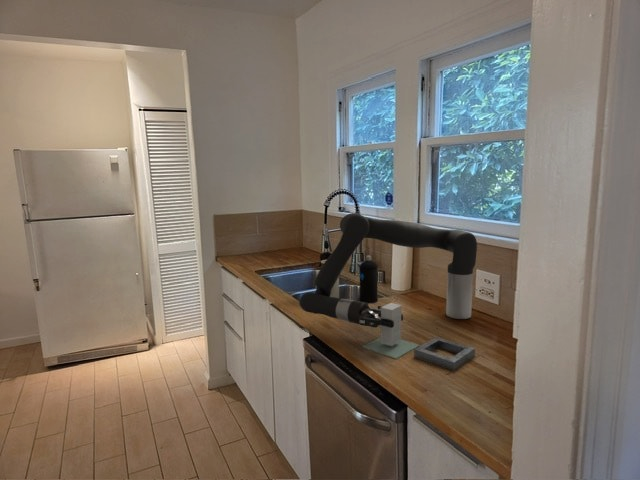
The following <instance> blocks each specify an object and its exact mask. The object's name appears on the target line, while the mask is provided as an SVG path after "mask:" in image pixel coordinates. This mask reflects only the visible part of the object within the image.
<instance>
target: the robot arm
mask: <svg viewBox="0 0 640 480" xmlns="http://www.w3.org/2000/svg"><path fill="white" fill-rule="evenodd" d="M339 229H340V230H341V232H342V235H341V238H340V240H339V242H338V244H336V245H337V246H336V247H335V249H334V250H333V251H332V253H330V255H329V256H328V258H327V259H325V260H326V261H325V263H324V264H323V266H322V265H321V267H322V268H321V267H320V269H321V270H320V269H319V271H318V273H317V275H316V277H315V279H314V281H313V283H314V285H315V287H316V288H315V291H314V292H312V291H309V292H308V291H307V292H305V293H303V294H302V295H301V296H300V298H299V300H298V301H299V306H300V308H301V309H302V310H303V311H304V312H306V313H311V314H316V315H324V316H327V317H329V318H333V319H337V320H341V321H343V322H346V323H351V324H355V325H360V326H363V327H369V328H378V327H381V326H386V327H390V328H393V327H394V321H393V320H389V319H384V318H383V319H382V318H381V307H383V306H381V305H378V306H377V308H376V307H372V308H371V307H370V306H369V303H365V302H360V301H359V300H354V299H349V298H340V297H339V298H336V297H330V294H331V290H332V288H333V286H334V284H335V282H336V281H337V279H338V277H339V278H340V274H341V273H342V271H343V270H344V268H345V266H346V265H347V263H348V261H349V259H350V258H351V257H352V256H353V254H354V252H355V251H356V250H357V248H358V247H359V246H360V244H361V243H362V241H363V240H364V239H374V240H378V241H382V242H384V243H387V244H391V245H396V246H400V247H407V248H415V249H420V248H424V249H425V248H435V249H440V250H444V251H447V252H450V253H452V260H451V261H452V262H451V263H449V264H447V278H446V304H445V305H446V306H445V307H446V308H445V309H446V310H445V314H446V316H447V317H449V318H451V319H457V320H467V319H470V318H472V303H473V281H474V278H473V277H474V268H475V266H476V262H477V252H478V243H477V238H476V236H475V235H474V234H473V233H471V232H469V231H466V230H461V229H446V228H442V229H441V228H435V227H431V226H429V225H425V224H420V223H418V222H417V223H416V222H412V221H411V222H410V221H406V220H404V221H403V220H391V219H376V218H371V217H368V216H364V215H362V214H359V213H355V212H354V213H353V212H352V213H348V214H347V215H344V217H342V218H341V220H340V222H339ZM403 320H404V314H402V313H401V322H402V321H403Z"/></svg>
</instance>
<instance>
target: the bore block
mask: <svg viewBox="0 0 640 480" xmlns="http://www.w3.org/2000/svg"><path fill="white" fill-rule="evenodd" d="M437 349H440V350H444V351H448V352H450V353H454V354H455V355H453V356H452V357H450V356H446V355H443V354H441V353H436V352H435V351H436V350H437ZM475 356H476V347H472V346H468V345H465V344H461V343H458V342H455V341H451V340H448V339H444V338H441V337H439V336H436V337H433V338H432V339H430V340H428V341H427V342H425V343H423V344H420V346H419V347H417V348H415V349H414V350H413V357H414V358H415V359H418V360H421V361H424V362H428V363H430V364H434V365H436V366H439V367H442V368H444V369H448V370H451V371H454V372H455V371H456V370H457V369H459V368H460V367H461V366H463V365H464V364H465V363H467V362H468V361H470V360H471V359H473V358H474V357H475Z"/></svg>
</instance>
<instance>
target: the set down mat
mask: <svg viewBox="0 0 640 480" xmlns="http://www.w3.org/2000/svg"><path fill="white" fill-rule="evenodd" d="M419 346H421V344H417V343H414V342H411V341H407V340H404V339H402V338H401V340H400V341H399V342H397V343H396V344H394V345H393V346H389V345H386V344H382V343H381V336H380V337H378V338H376V339H374V340H373V341H370V342H368V343H366V344H364V345H362V348H364V349H367V350H369V351H372V352H375V353H377V354H381V355H383V356H386V357H389V358H392V359H394V360H398V359H400V358H401V357H404V356H405V355H407V354H408V353H410V352H412V351H414V349H415V348H417V347H419Z"/></svg>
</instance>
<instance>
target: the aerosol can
mask: <svg viewBox="0 0 640 480" xmlns="http://www.w3.org/2000/svg"><path fill="white" fill-rule="evenodd" d="M365 258H366V259H365V260H364V261H362V262H361V263H360V264H359V265H358V266H359V300H358V301H360V302H365V303H367V304H375V303H377V302H378V300H379V298H378V275H379V273H378V267H379V265H378V264H377V262H375V261H373V260H372V256H371V255H366V257H365Z"/></svg>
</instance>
